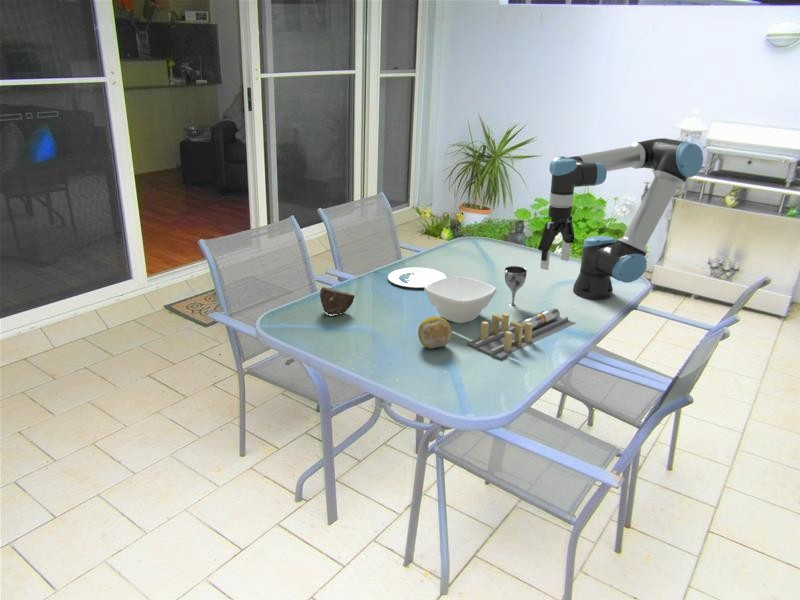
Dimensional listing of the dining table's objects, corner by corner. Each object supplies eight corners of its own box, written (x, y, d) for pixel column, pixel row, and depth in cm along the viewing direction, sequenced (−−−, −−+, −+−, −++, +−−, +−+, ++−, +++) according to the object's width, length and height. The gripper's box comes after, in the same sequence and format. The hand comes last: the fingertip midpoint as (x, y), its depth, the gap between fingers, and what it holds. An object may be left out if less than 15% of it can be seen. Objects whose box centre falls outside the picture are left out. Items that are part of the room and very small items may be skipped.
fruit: (412, 343, 197) (413, 315, 193) (441, 338, 201) (443, 310, 197) (426, 356, 188) (426, 327, 184) (456, 350, 192) (457, 322, 188)
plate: (457, 277, 257) (457, 273, 257) (427, 295, 238) (428, 291, 237) (407, 267, 270) (407, 263, 269) (376, 283, 250) (376, 279, 249)
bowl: (455, 301, 231) (457, 273, 227) (502, 318, 216) (504, 288, 212) (415, 317, 217) (416, 287, 212) (462, 336, 202) (464, 304, 198)
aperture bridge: (493, 333, 202) (495, 313, 199) (521, 345, 194) (523, 324, 191) (490, 335, 201) (492, 315, 198) (518, 347, 193) (520, 326, 190)
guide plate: (543, 313, 221) (544, 295, 219) (575, 325, 211) (578, 306, 209) (467, 344, 196) (468, 325, 193) (500, 360, 186) (502, 339, 184)
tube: (550, 317, 216) (551, 306, 214) (559, 320, 213) (560, 310, 211) (518, 330, 205) (519, 320, 203) (527, 334, 202) (529, 323, 200)
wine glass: (523, 311, 222) (526, 273, 216) (501, 310, 223) (504, 272, 218) (523, 304, 229) (526, 266, 224) (502, 302, 231) (505, 265, 225)
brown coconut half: (355, 296, 222) (354, 290, 212) (347, 322, 220) (346, 317, 210) (323, 287, 222) (321, 281, 212) (315, 313, 220) (312, 308, 210)
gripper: (569, 197, 214) (563, 254, 222) (530, 209, 198) (525, 270, 206) (588, 201, 210) (581, 258, 218) (550, 213, 193) (544, 275, 201)
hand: (554, 264), depth 212 cm, fingers open, 13 cm apart
